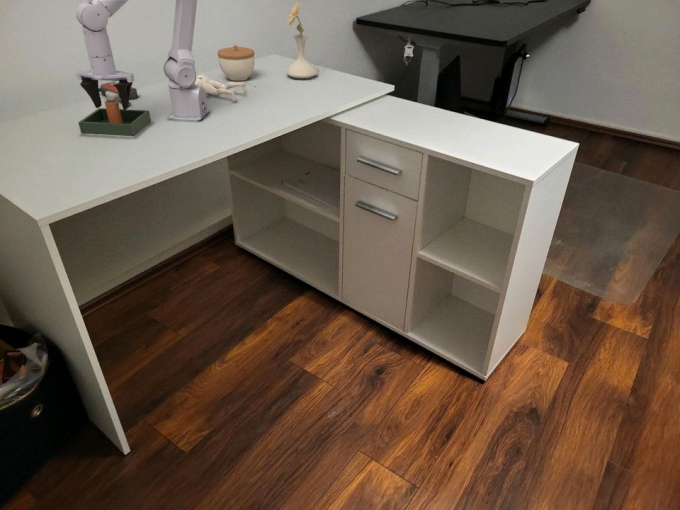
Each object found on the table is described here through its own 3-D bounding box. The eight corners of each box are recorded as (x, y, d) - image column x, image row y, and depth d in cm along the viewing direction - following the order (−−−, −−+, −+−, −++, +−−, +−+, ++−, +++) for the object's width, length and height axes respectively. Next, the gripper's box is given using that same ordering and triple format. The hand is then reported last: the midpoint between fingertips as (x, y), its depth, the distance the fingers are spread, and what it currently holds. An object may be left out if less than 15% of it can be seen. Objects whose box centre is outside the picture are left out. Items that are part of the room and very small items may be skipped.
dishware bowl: (253, 83, 180) (250, 50, 174) (217, 82, 180) (213, 49, 174) (258, 73, 191) (256, 41, 184) (224, 72, 191) (220, 40, 184)
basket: (151, 122, 148) (149, 110, 146) (134, 138, 138) (131, 125, 136) (102, 120, 149) (99, 107, 147) (81, 135, 139) (78, 122, 137)
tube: (125, 125, 144) (120, 99, 141) (120, 129, 142) (114, 104, 138) (114, 124, 145) (108, 99, 141) (108, 128, 142) (102, 103, 138)
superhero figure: (250, 97, 171) (187, 88, 179) (249, 78, 169) (185, 70, 176) (230, 103, 162) (165, 94, 170) (229, 83, 159) (163, 75, 167)
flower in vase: (289, 71, 194) (287, -3, 180) (319, 73, 193) (319, -1, 179) (281, 81, 184) (278, 3, 169) (313, 83, 182) (312, 5, 168)
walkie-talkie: (92, 95, 167) (128, 109, 157) (89, 81, 165) (125, 94, 154) (117, 89, 173) (153, 102, 163) (114, 75, 170) (150, 88, 160)
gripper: (64, 57, 130) (79, 111, 137) (120, 60, 129) (132, 113, 136) (79, 50, 135) (92, 102, 143) (133, 53, 134) (143, 105, 142)
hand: (112, 107), depth 140 cm, fingers open, 7 cm apart
